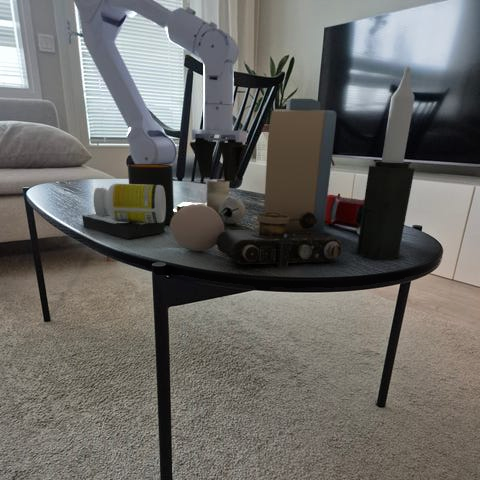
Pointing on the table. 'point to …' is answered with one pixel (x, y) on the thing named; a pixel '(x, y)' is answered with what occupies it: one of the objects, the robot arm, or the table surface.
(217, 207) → the dial console
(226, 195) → the pointer wheel
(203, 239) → the egg
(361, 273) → the table surface
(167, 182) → the mug
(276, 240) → the camera
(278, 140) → the tall beige block
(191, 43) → the robot arm
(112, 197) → the pill bottle
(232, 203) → the reed diffuser
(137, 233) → the vhs tape
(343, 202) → the toy car
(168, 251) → the table surface
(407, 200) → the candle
